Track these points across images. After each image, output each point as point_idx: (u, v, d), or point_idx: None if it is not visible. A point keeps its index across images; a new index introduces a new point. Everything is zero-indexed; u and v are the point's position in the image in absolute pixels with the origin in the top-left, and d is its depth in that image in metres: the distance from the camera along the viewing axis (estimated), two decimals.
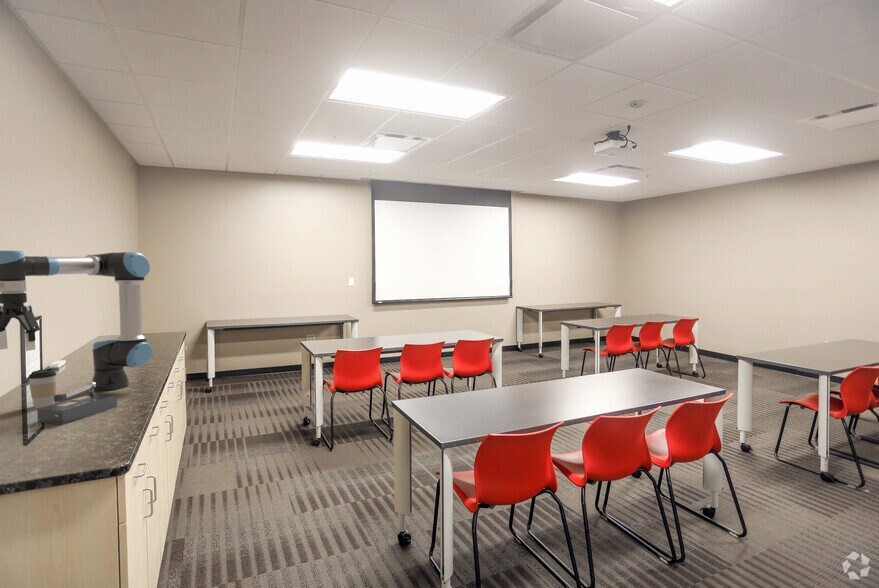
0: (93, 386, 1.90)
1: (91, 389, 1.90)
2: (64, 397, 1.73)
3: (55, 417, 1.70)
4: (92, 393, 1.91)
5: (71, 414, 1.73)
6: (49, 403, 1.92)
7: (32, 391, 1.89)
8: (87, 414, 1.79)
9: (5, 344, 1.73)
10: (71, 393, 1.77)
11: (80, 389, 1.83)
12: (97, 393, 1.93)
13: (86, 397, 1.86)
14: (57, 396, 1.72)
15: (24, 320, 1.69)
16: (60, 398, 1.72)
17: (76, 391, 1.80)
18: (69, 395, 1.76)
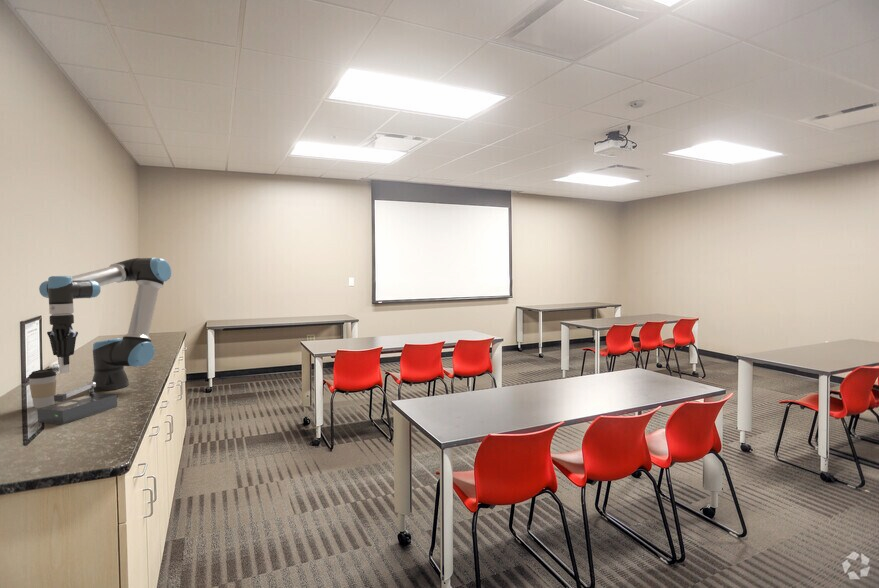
0: (93, 386, 1.90)
1: (91, 389, 1.90)
2: (64, 397, 1.73)
3: (55, 417, 1.70)
4: (92, 393, 1.91)
5: (71, 414, 1.73)
6: (49, 403, 1.92)
7: (32, 391, 1.89)
8: (87, 414, 1.79)
9: None
10: (71, 393, 1.77)
11: (80, 389, 1.83)
12: (97, 393, 1.93)
13: (86, 397, 1.86)
14: (57, 396, 1.72)
15: (65, 344, 1.84)
16: (60, 398, 1.72)
17: (76, 391, 1.80)
18: (69, 395, 1.76)
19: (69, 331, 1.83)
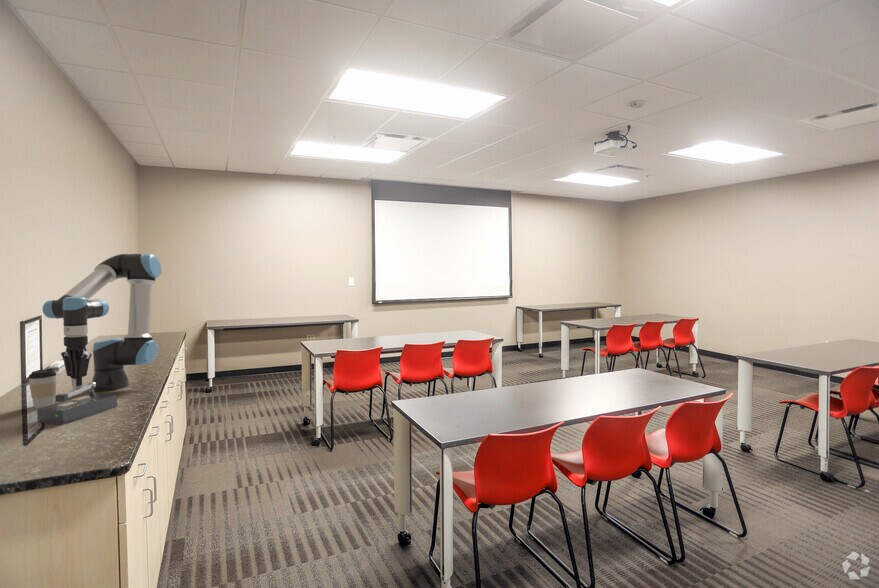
0: (93, 386, 1.90)
1: (91, 389, 1.90)
2: (66, 397, 1.73)
3: (55, 417, 1.70)
4: (92, 393, 1.91)
5: (71, 414, 1.73)
6: (49, 403, 1.92)
7: (32, 391, 1.89)
8: (87, 414, 1.79)
9: None
10: (72, 393, 1.78)
11: (81, 389, 1.83)
12: (97, 393, 1.93)
13: (86, 397, 1.86)
14: (59, 396, 1.72)
15: (79, 365, 1.83)
16: (61, 398, 1.72)
17: (77, 391, 1.80)
18: (70, 395, 1.76)
19: (83, 353, 1.82)
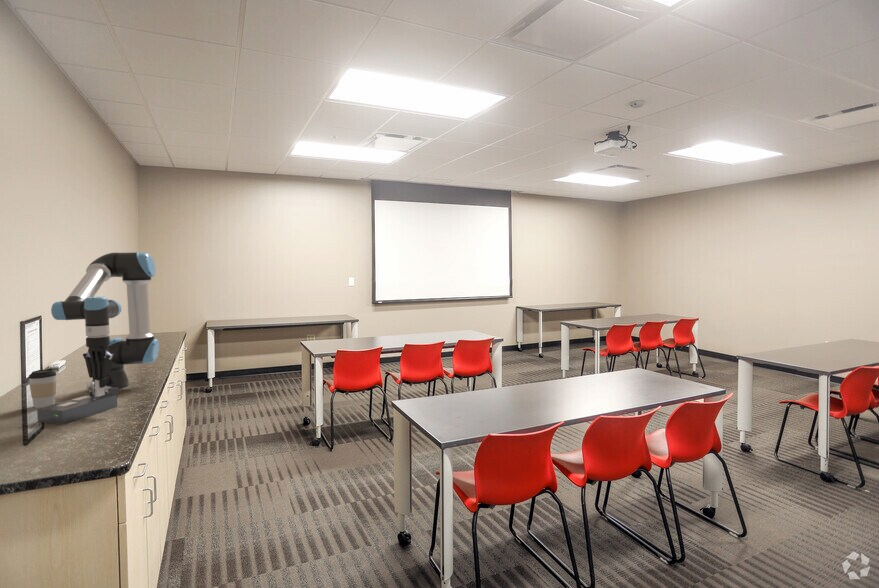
0: None
1: (91, 389, 1.90)
2: None
3: (55, 417, 1.70)
4: (92, 393, 1.91)
5: (71, 414, 1.73)
6: (49, 403, 1.92)
7: (32, 391, 1.89)
8: (87, 414, 1.79)
9: None
10: None
11: None
12: None
13: (86, 397, 1.86)
14: (114, 389, 1.81)
15: (101, 366, 1.81)
16: (116, 391, 1.82)
17: None
18: None
19: (105, 353, 1.80)
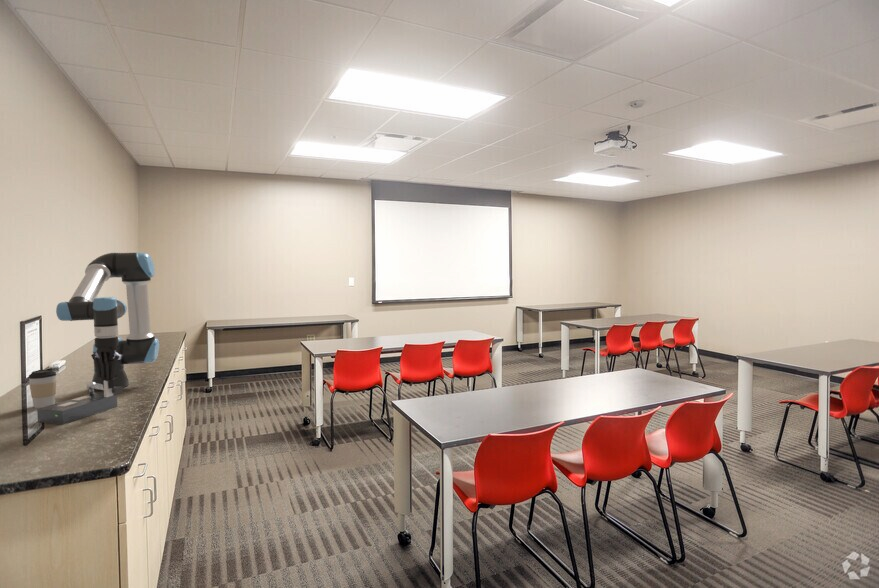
0: None
1: (91, 389, 1.90)
2: None
3: (55, 417, 1.70)
4: (92, 393, 1.91)
5: (71, 414, 1.73)
6: (49, 403, 1.92)
7: (32, 391, 1.89)
8: (87, 414, 1.79)
9: None
10: None
11: None
12: (97, 393, 1.93)
13: (86, 397, 1.86)
14: (118, 388, 1.82)
15: (110, 367, 1.80)
16: (120, 390, 1.83)
17: None
18: None
19: (114, 354, 1.79)
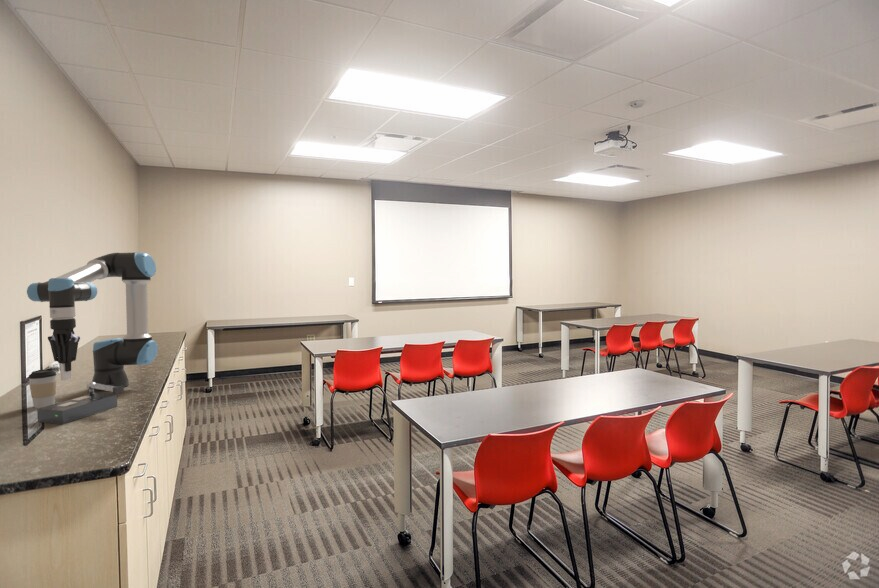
0: None
1: (91, 389, 1.90)
2: None
3: (55, 417, 1.70)
4: (92, 393, 1.91)
5: (71, 414, 1.73)
6: (49, 403, 1.92)
7: (32, 391, 1.89)
8: (87, 414, 1.79)
9: None
10: None
11: None
12: (97, 393, 1.93)
13: (86, 397, 1.86)
14: (119, 388, 1.82)
15: (67, 349, 1.75)
16: (121, 389, 1.83)
17: None
18: None
19: (71, 336, 1.74)
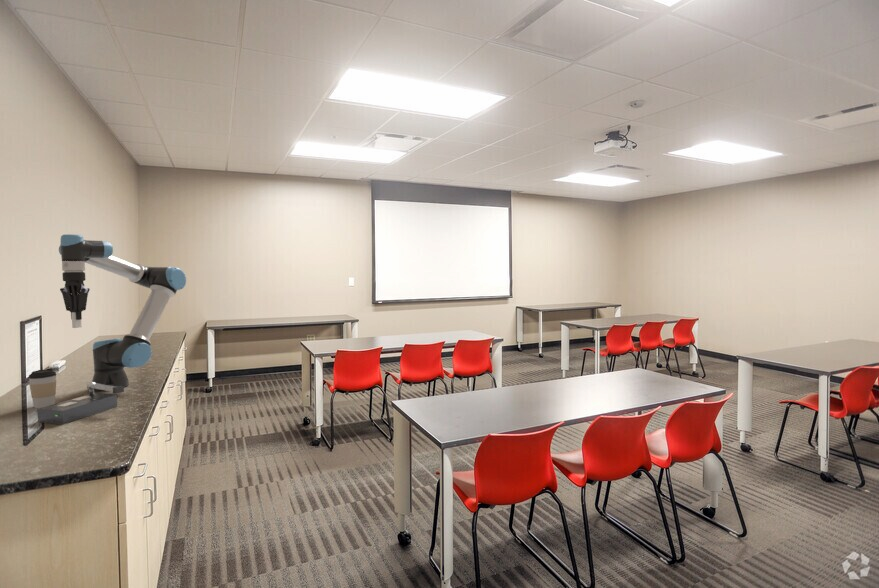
0: None
1: (91, 389, 1.90)
2: None
3: (55, 417, 1.70)
4: (92, 393, 1.91)
5: (71, 414, 1.73)
6: (49, 403, 1.92)
7: (32, 391, 1.89)
8: (87, 414, 1.79)
9: None
10: None
11: None
12: (97, 393, 1.93)
13: (86, 397, 1.86)
14: (119, 388, 1.82)
15: (78, 300, 1.93)
16: (121, 389, 1.83)
17: None
18: None
19: (81, 287, 1.92)
